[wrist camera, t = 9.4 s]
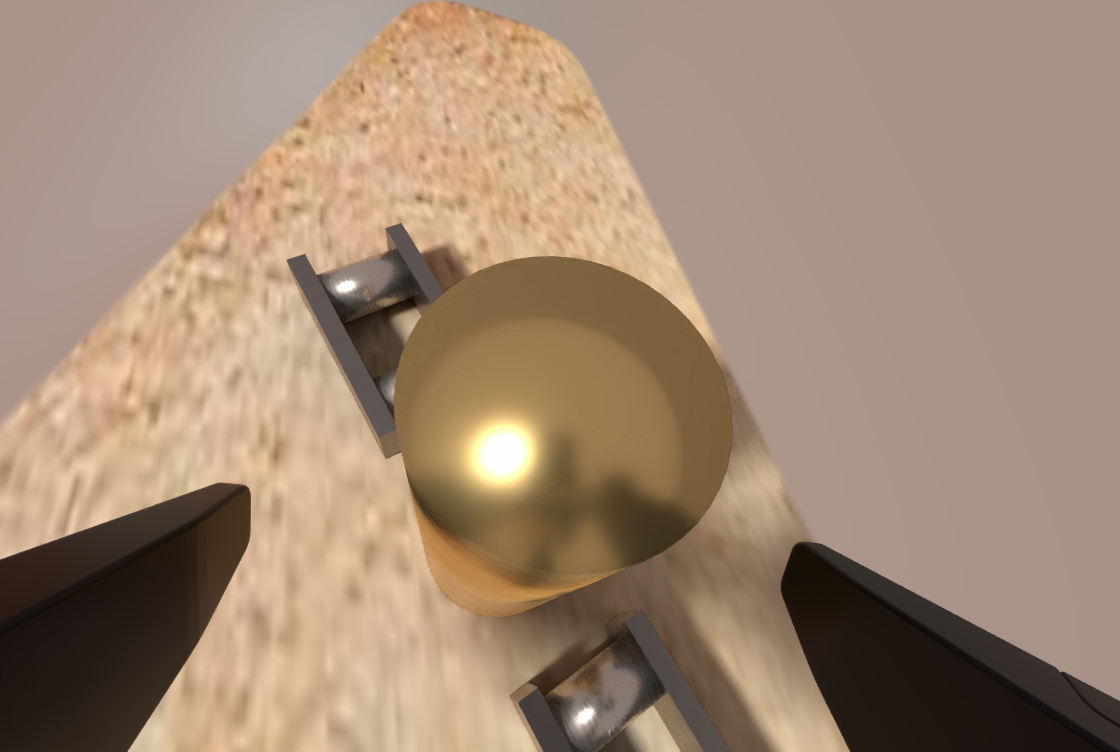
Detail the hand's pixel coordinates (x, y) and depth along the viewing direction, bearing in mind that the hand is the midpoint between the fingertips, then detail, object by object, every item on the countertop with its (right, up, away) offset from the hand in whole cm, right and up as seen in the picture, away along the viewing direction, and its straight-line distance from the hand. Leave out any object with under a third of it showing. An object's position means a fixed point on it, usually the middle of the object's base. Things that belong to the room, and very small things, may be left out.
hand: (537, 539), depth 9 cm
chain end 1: (-6, +4, +10) cm, 12 cm away
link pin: (-2, -2, +8) cm, 9 cm away
